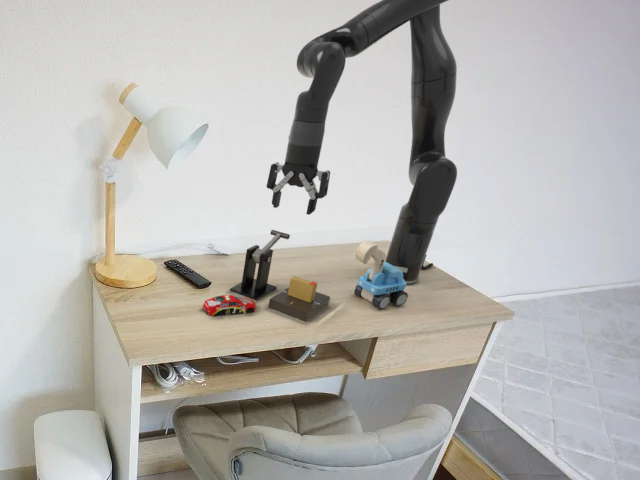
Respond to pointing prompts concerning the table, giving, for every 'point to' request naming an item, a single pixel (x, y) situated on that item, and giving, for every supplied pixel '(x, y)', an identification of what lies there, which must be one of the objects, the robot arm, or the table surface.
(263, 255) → the lever bracket
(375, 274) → the toy excavator
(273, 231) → the grey lever handle
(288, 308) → the lock plate
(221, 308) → the race car
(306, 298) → the lock knob
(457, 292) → the table surface
